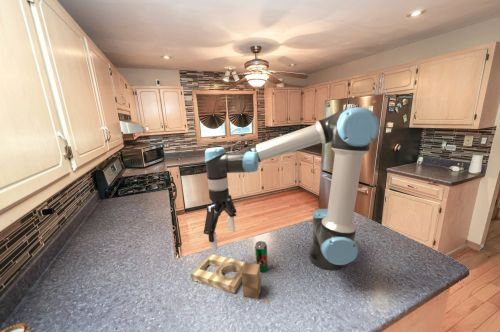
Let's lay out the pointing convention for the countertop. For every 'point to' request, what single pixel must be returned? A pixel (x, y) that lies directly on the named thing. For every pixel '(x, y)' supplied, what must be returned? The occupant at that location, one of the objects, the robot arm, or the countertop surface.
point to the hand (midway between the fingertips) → (223, 239)
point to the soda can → (261, 255)
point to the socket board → (220, 273)
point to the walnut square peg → (251, 280)
